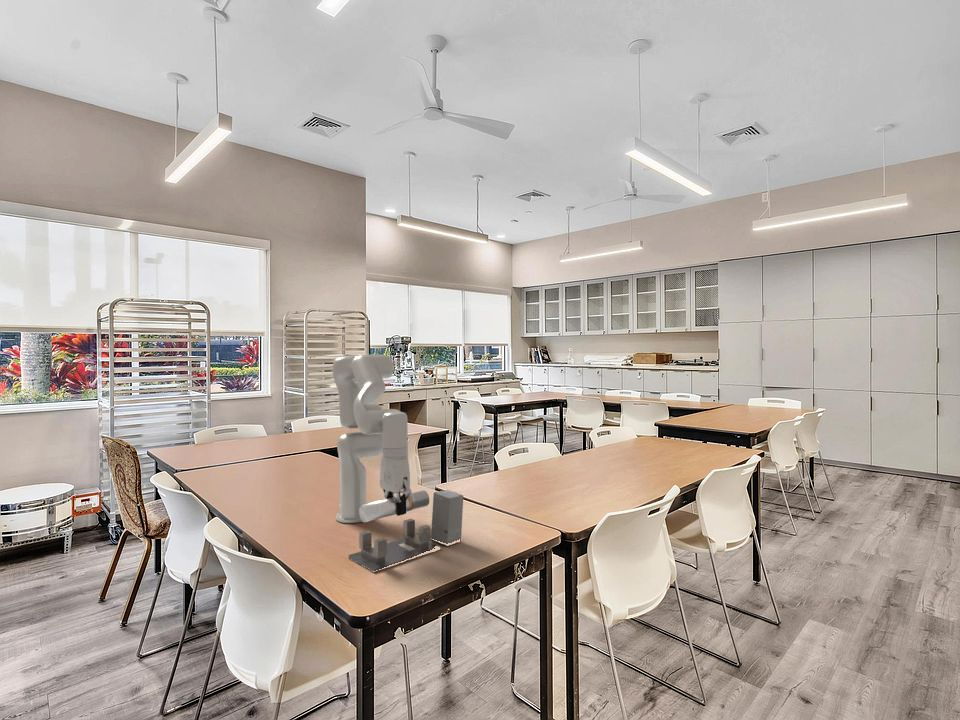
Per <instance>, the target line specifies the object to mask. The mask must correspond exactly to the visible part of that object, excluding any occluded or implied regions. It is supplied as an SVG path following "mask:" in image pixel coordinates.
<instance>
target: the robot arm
mask: <svg viewBox="0 0 960 720" xmlns="http://www.w3.org/2000/svg"><path fill="white" fill-rule="evenodd" d="M394 368H395V367H394V361H393V360H392V358H391V357H390V356H389V355H387V354H360V355H347V356H344V355H343V356H340V357H337V358H336V359H334V360H333V363H332V376H333V377H332V378H333V380H334V381H333V382H334V383H335V386H336V389H337V393H338V407H339V408H338V409H339V410H338V411H339V421H340V425H341V427H342V428H344V429H347V430H356V429H358V430H359V431H356V432H348V433H347V432H346V433H344V434H342V435H340V436H339V438H338V439H337V443H336V446H337V447H336V448H337V454H338V461H339V504H338V505H337V507H338V509H339V513H337V514H336V515H335V520H336V521H337V522H338V523H343V524H356V523H357V524H358V523H361V522H363V521H362V520H361V518H360V515H359V509H360V506H361V505H363V504H368V503H367V500H368V499H367V468H366V467H365V465H364V464H363V463H362V461H361V460H360V459H363V458H370V457H371V458H372V457H378V456H381V455H382V456H381V461H380V462H381V463H380V470H379V486H380V489H382V491H383V493H384V498H385V499H389V498H393V497H395V494H396V497H397V500H398V502H396V514H395V515H396V516H403V515H407V512H406V501H407V498H408V497H409V495H410V494H411V493H413V491H412V490H411V474H410V464H409V456H408V455H409V451H408V449H409V446H408V445H409V444H408V441H409V439H408V438H409V437H408V415H407V413H406V412H403V411H400V410H399V409H395V408H389V409H388V408H387V409H385V408H384V409H382V407H381V405H380V403H377V402H375V400H377V399H378V398H380V397H382V395H383V394H384V393H385V391H386V384H385V381H384V379H388V378H391V377H392V376H393V374H394V372H395V371H394V370H395V369H394Z"/></svg>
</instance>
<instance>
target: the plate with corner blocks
mask: <svg viewBox="0 0 960 720" xmlns="http://www.w3.org/2000/svg"><path fill="white" fill-rule="evenodd" d="M402 526H403V534H402V535H404V536H405V537H403V538H400V539H396V540H393V541H390V542H387V541H388V539H387V538H385V537H381V538H378V539H374V540H373V543H372V535H373V534H372V531H369V530H365V531H362V532H358V539H359V540H358V541H359V542H358V544H359V547H358V548H359V549H360V551H358V552H354V553H351V554H349V555H348V559H349V558H350V559H352V560H353V561H352V560H351V561H352V562H354V561H356V562H357V563H359V564H361V565H363V566H365V567H367V568H369V569H370V570H372V571H376V570H379V569H382V568H384V567H387V566H389V565H392V564H395V563H398V562H401V561H404V560H406V559H409V558H412V557H414V556H417V555H419V554H421V553H424V552H426V551H430V550H432V549H433V548H434V547H435V546H436V545H437V544H436V543H435V542H434V543H433V542H432V540H431V529H432V525H428V524H424V525H421V526H418V534H416V530H415V529H416V522H415V519H413V518H409V519H408V518H407V519H405V520H403V525H402ZM372 544H373V546H372ZM434 549H435V548H434ZM350 559H349V560H350ZM356 562H355V563H356ZM357 563H356V564H357ZM359 564H358V565H359ZM361 565H360V566H361Z"/></svg>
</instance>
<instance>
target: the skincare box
mask: <svg viewBox="0 0 960 720" xmlns="http://www.w3.org/2000/svg"><path fill="white" fill-rule="evenodd" d="M432 500H433V501H432V515H431V516H432V517H431V538H432V539H434V540H437V541H440V542H443V543H446V544H448V543H452V542H454V541H457V540H459V539H461V540H462V531H463V530H462V529H463V512H464V511H463V508H464V495H463V494H460V493H458V492H457V491H452V490H449V489H445V490H440V491H439V490H438V491H435V492H433V498H432Z"/></svg>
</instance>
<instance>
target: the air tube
mask: <svg viewBox="0 0 960 720" xmlns="http://www.w3.org/2000/svg"><path fill="white" fill-rule="evenodd" d="M396 502H398V500H397V496H393V498H389V499H386V498H385V499H382V500H376V501H373V502H369V503H367V504H363V505H361V506H360V509H359V515H360V518H361V520H362V522H363V523H368V522H372V521H375V520H379V519H383V518H387V517H391V516H394V515H395V516H396V515H397V514H396ZM429 504H430V495H429V493H428V492H427V491H426V490H419V491H416V492H412V493H411V494H410V495H409V497H408V498H407V501H406V513H407V512H411V511H414V510H418V509H421V508H425V507H428V505H429Z"/></svg>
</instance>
